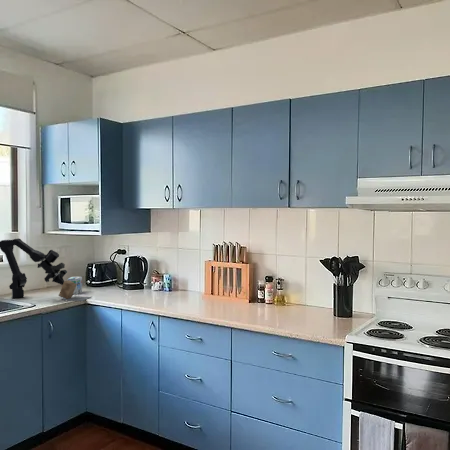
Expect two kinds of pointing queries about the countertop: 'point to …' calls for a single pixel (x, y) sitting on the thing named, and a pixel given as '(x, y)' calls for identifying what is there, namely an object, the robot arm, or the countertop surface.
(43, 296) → the countertop surface
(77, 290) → the light bulb box
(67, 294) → the walnut block
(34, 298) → the countertop surface
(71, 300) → the rubber mat
